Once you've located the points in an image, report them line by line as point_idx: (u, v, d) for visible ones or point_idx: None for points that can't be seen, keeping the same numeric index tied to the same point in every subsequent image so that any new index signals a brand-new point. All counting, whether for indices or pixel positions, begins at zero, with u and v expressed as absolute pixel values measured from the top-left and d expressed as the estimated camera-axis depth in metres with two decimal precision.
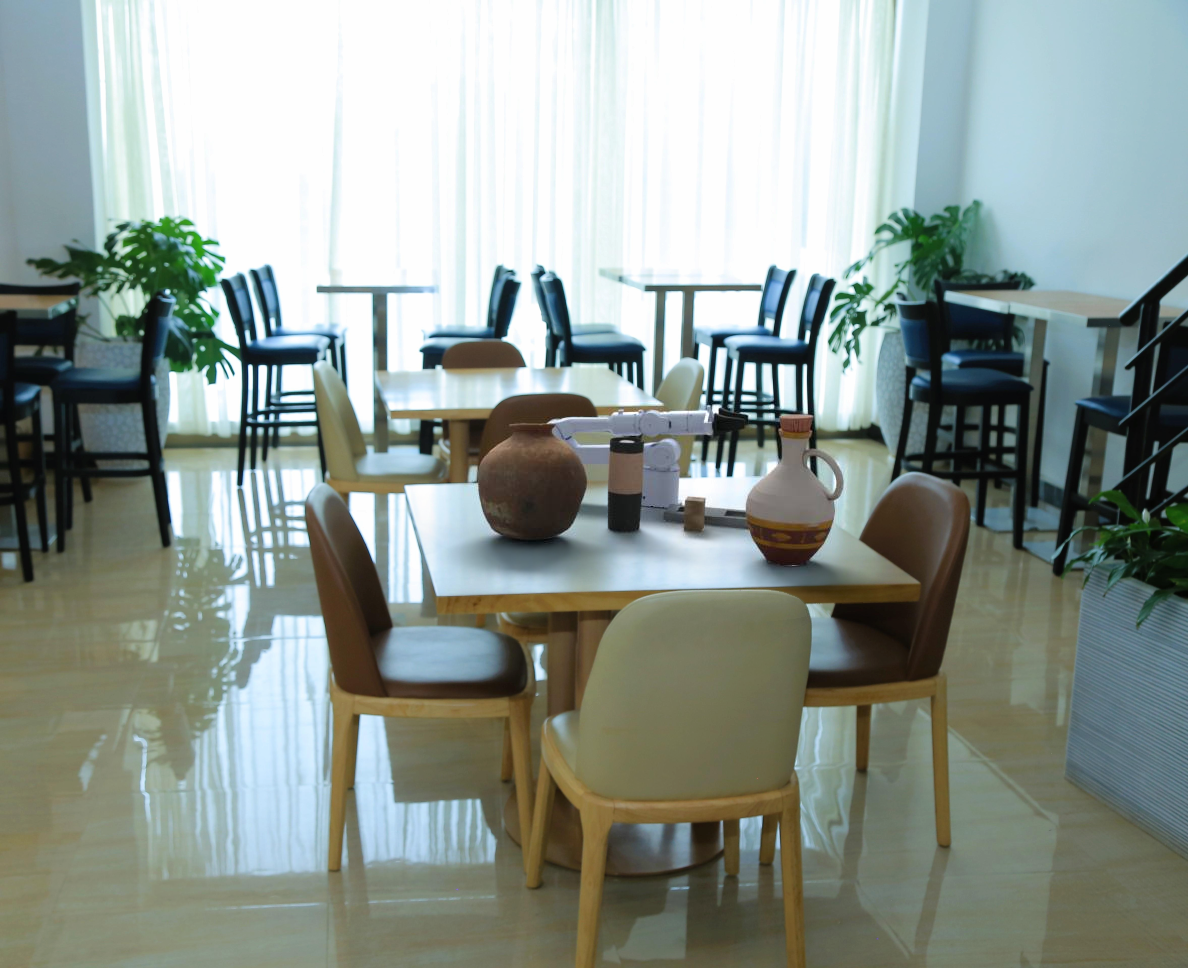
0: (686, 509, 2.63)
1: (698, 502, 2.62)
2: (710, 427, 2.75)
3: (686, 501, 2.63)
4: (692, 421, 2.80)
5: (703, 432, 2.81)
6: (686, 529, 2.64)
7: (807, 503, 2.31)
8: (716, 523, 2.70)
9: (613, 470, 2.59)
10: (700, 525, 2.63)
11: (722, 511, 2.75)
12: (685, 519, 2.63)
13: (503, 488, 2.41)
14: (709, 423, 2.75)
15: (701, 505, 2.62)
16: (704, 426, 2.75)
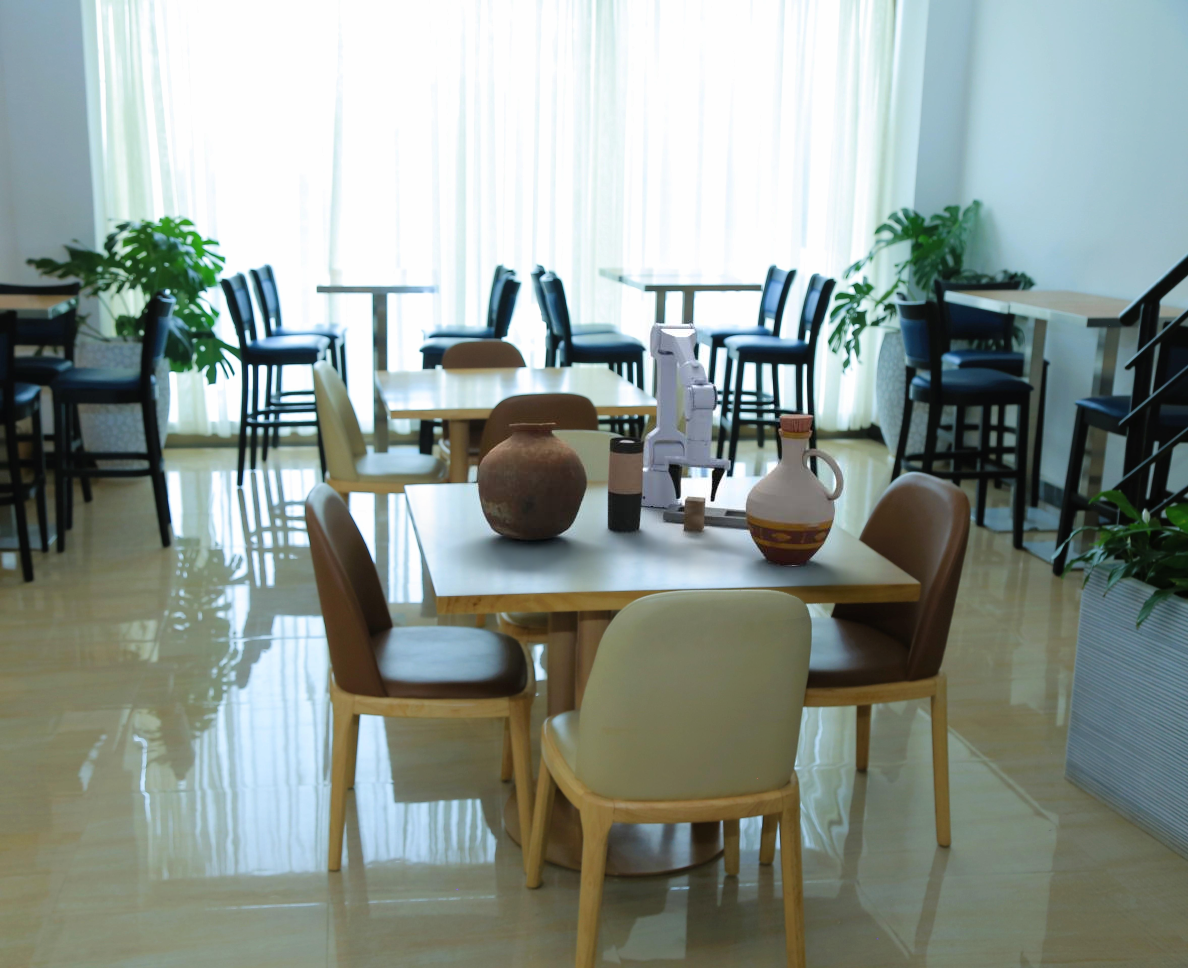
0: (686, 509, 2.63)
1: (698, 502, 2.62)
2: None
3: (686, 501, 2.63)
4: (685, 444, 2.61)
5: None
6: (686, 529, 2.64)
7: (807, 503, 2.31)
8: (716, 523, 2.70)
9: (613, 470, 2.59)
10: (700, 525, 2.63)
11: (722, 511, 2.75)
12: (685, 519, 2.63)
13: (503, 488, 2.41)
14: (664, 463, 2.63)
15: (701, 505, 2.62)
16: None
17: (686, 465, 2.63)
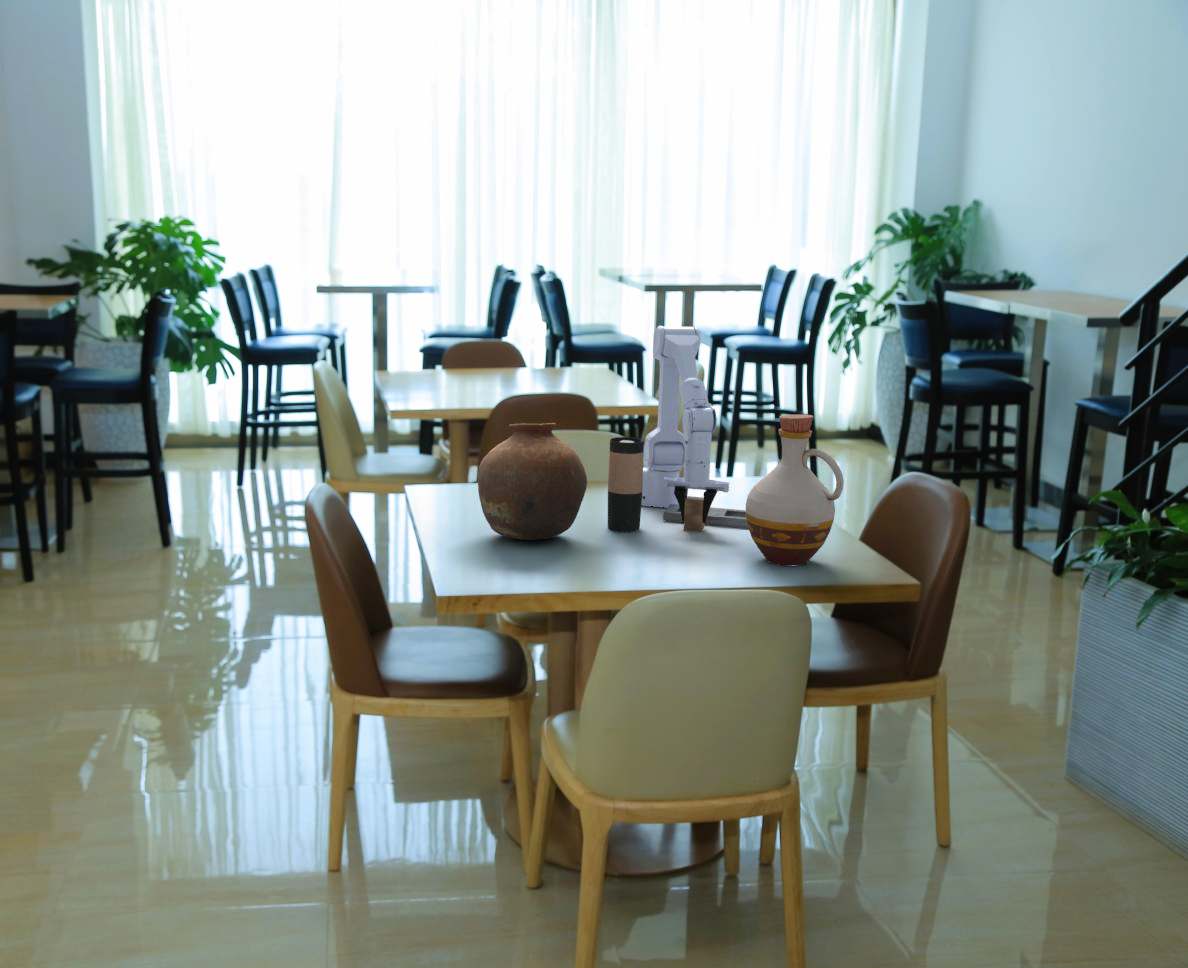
0: (686, 509, 2.63)
1: (698, 502, 2.62)
2: None
3: (686, 501, 2.63)
4: (684, 465, 2.62)
5: None
6: (686, 529, 2.64)
7: (807, 503, 2.31)
8: (716, 523, 2.70)
9: (613, 470, 2.59)
10: (700, 525, 2.63)
11: (722, 511, 2.75)
12: (685, 519, 2.63)
13: (503, 488, 2.41)
14: (663, 485, 2.64)
15: (701, 505, 2.62)
16: (664, 479, 2.65)
17: (685, 487, 2.64)
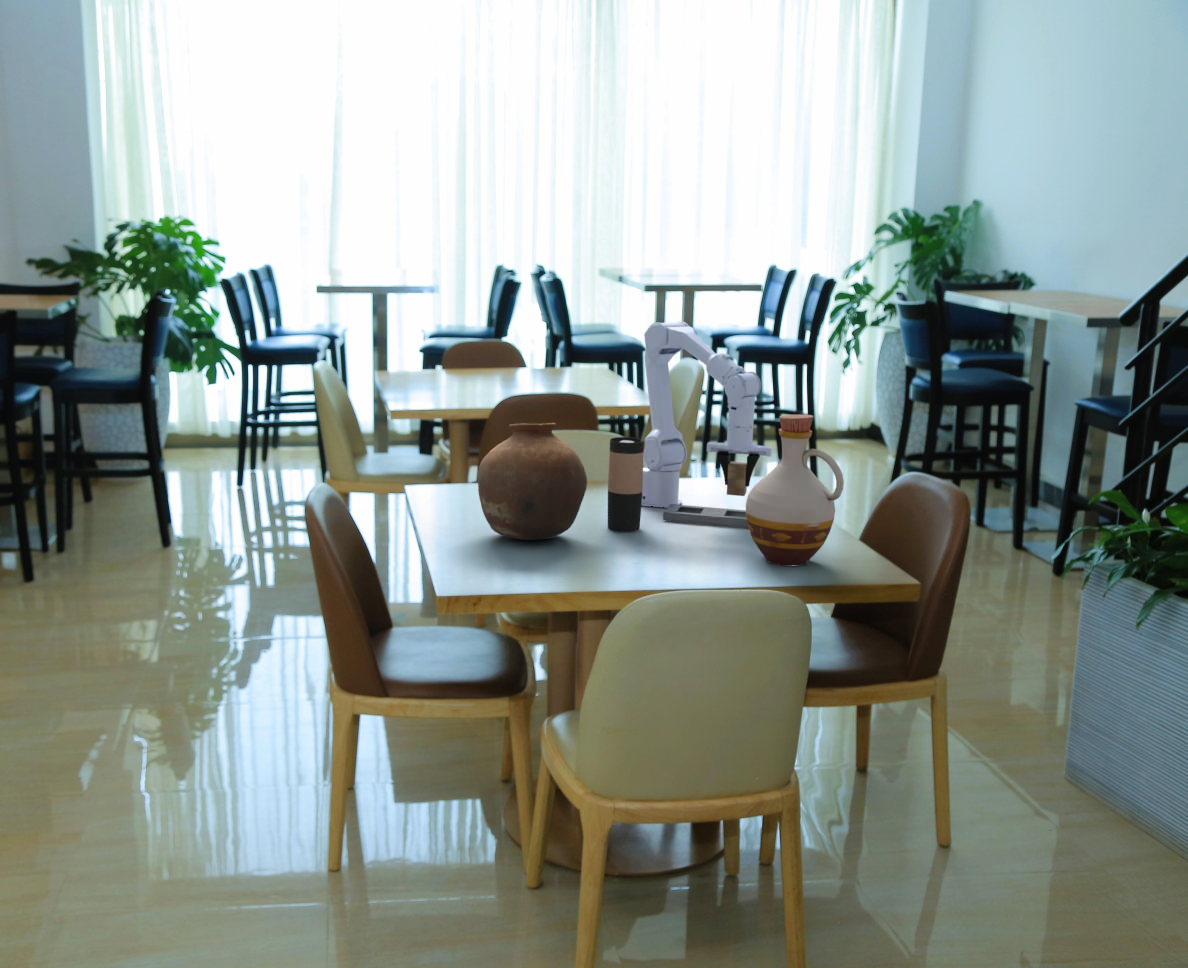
0: (729, 473, 2.69)
1: (741, 466, 2.68)
2: None
3: (729, 465, 2.68)
4: None
5: None
6: (729, 493, 2.70)
7: (807, 503, 2.31)
8: (716, 523, 2.70)
9: (613, 470, 2.59)
10: (743, 489, 2.69)
11: (722, 511, 2.75)
12: (728, 483, 2.69)
13: (503, 488, 2.41)
14: None
15: (744, 469, 2.68)
16: None
17: (728, 451, 2.70)
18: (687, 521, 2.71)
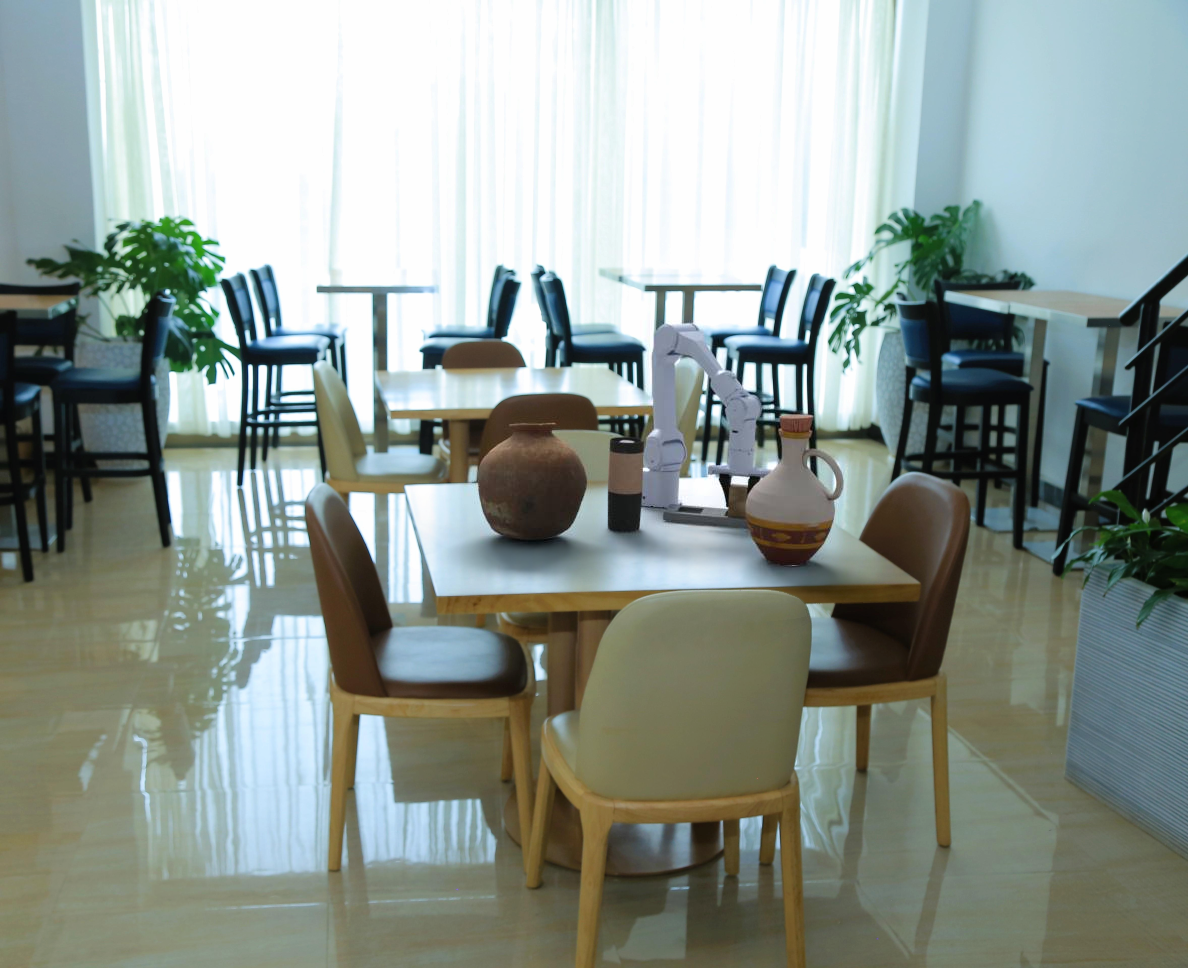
0: (730, 496, 2.70)
1: (742, 489, 2.69)
2: None
3: (730, 488, 2.70)
4: None
5: None
6: (730, 515, 2.71)
7: (807, 503, 2.31)
8: (716, 523, 2.70)
9: (613, 470, 2.59)
10: (744, 512, 2.70)
11: (722, 511, 2.75)
12: (729, 506, 2.71)
13: (503, 488, 2.41)
14: (708, 472, 2.72)
15: (745, 492, 2.69)
16: None
17: (729, 474, 2.71)
18: (687, 521, 2.71)
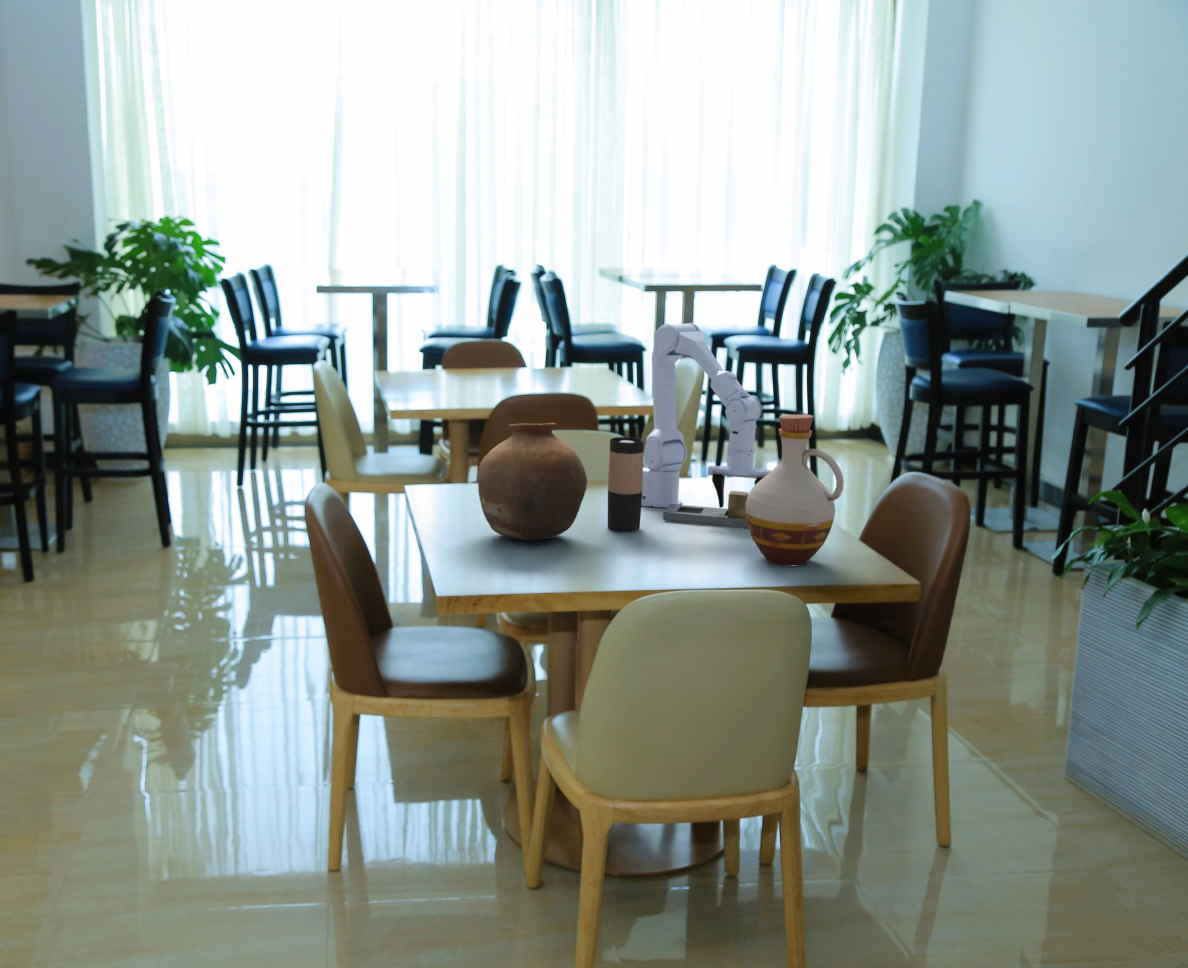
0: (730, 503, 2.70)
1: (742, 496, 2.69)
2: None
3: (730, 495, 2.70)
4: None
5: None
6: None
7: (807, 503, 2.31)
8: (716, 523, 2.70)
9: (613, 470, 2.59)
10: None
11: (722, 511, 2.75)
12: (729, 513, 2.71)
13: (503, 488, 2.41)
14: None
15: (744, 499, 2.69)
16: None
17: (729, 475, 2.71)
18: (687, 521, 2.71)
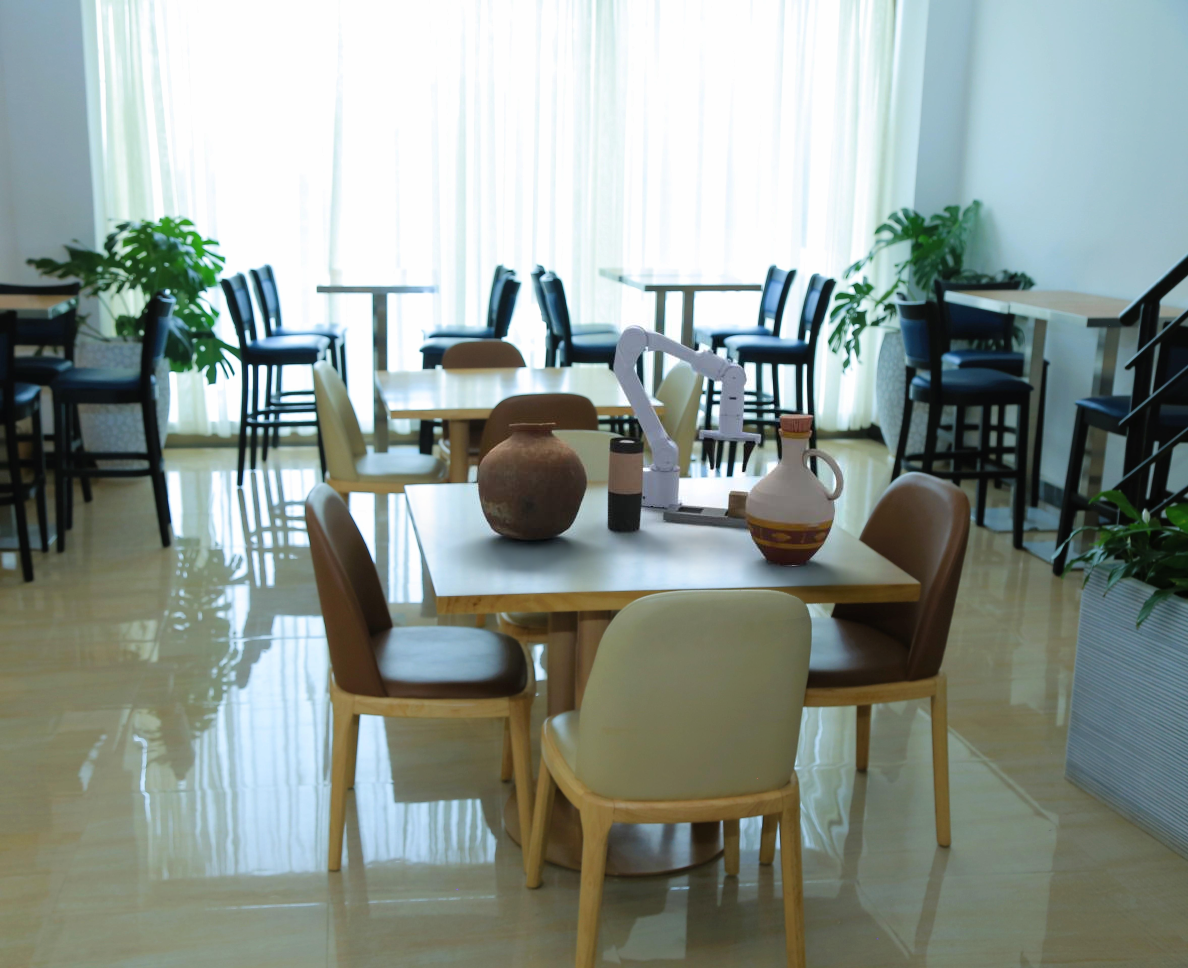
0: (730, 503, 2.70)
1: (742, 496, 2.69)
2: None
3: (730, 495, 2.70)
4: (719, 418, 2.84)
5: None
6: None
7: (807, 503, 2.31)
8: (716, 523, 2.70)
9: (613, 470, 2.59)
10: None
11: (722, 511, 2.75)
12: (729, 513, 2.71)
13: (503, 488, 2.41)
14: None
15: (744, 499, 2.69)
16: (700, 431, 2.86)
17: (720, 438, 2.85)
18: (687, 521, 2.71)
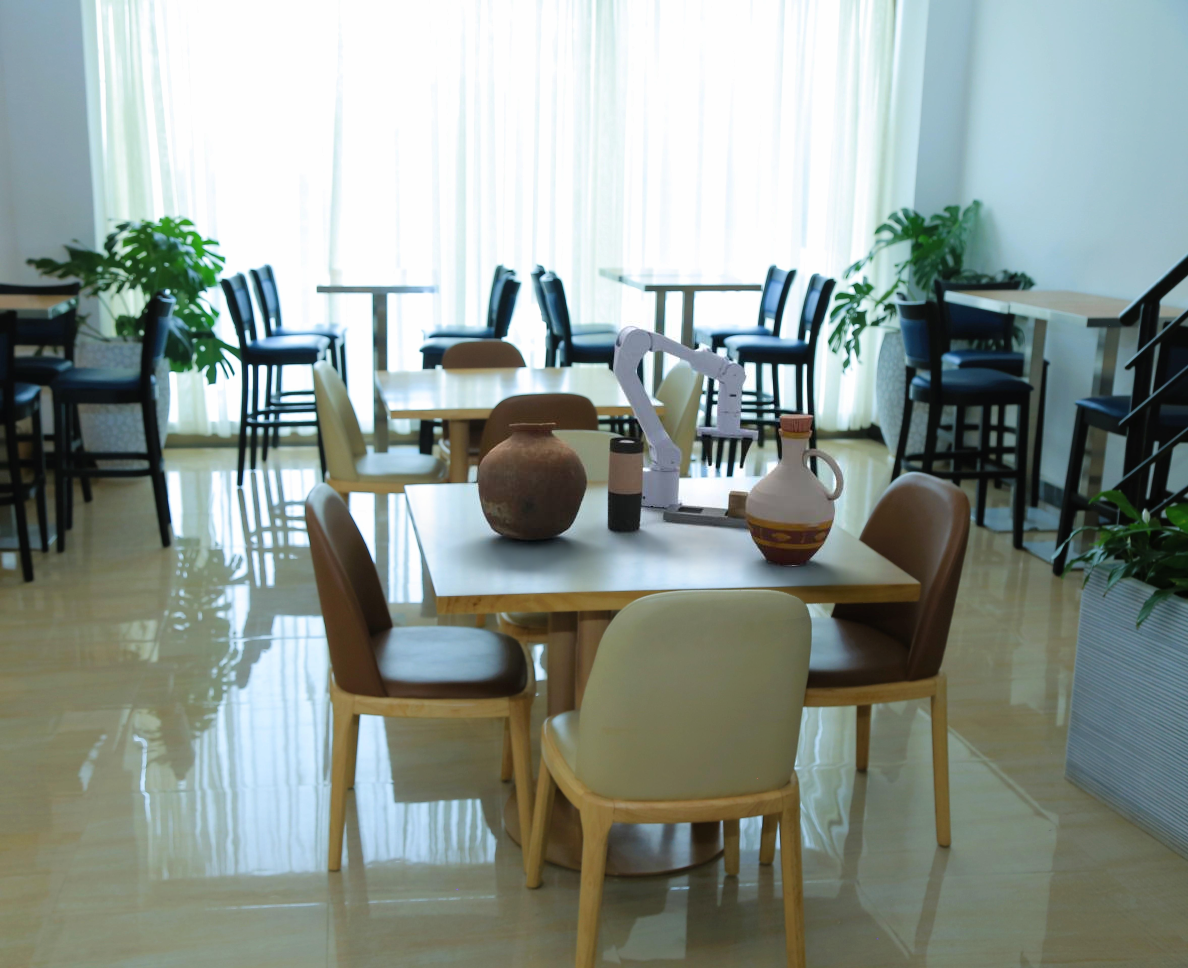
0: (730, 503, 2.70)
1: (742, 496, 2.69)
2: None
3: (730, 495, 2.70)
4: None
5: None
6: None
7: (807, 503, 2.31)
8: (716, 523, 2.70)
9: (613, 470, 2.59)
10: None
11: (722, 511, 2.75)
12: (729, 513, 2.71)
13: (503, 488, 2.41)
14: (697, 433, 2.89)
15: (744, 499, 2.69)
16: (698, 428, 2.89)
17: (717, 435, 2.88)
18: (687, 521, 2.71)
